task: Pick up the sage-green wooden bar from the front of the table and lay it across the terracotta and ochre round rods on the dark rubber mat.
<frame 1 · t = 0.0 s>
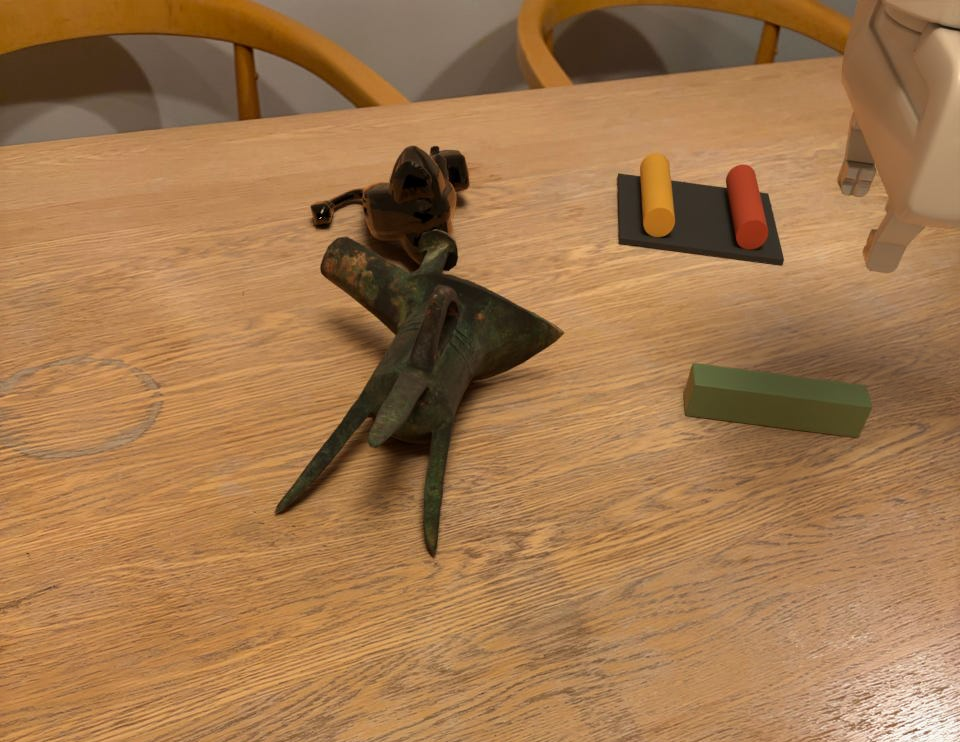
hand: (862, 226, 62), 20 cm above the table, tool pointing down, fingers open, 8 cm apart
rod stand: (696, 220, 103), on the table
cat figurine: (388, 225, 97), on the table
bar: (770, 415, 82), on the table
vessel: (398, 432, 76), on the table
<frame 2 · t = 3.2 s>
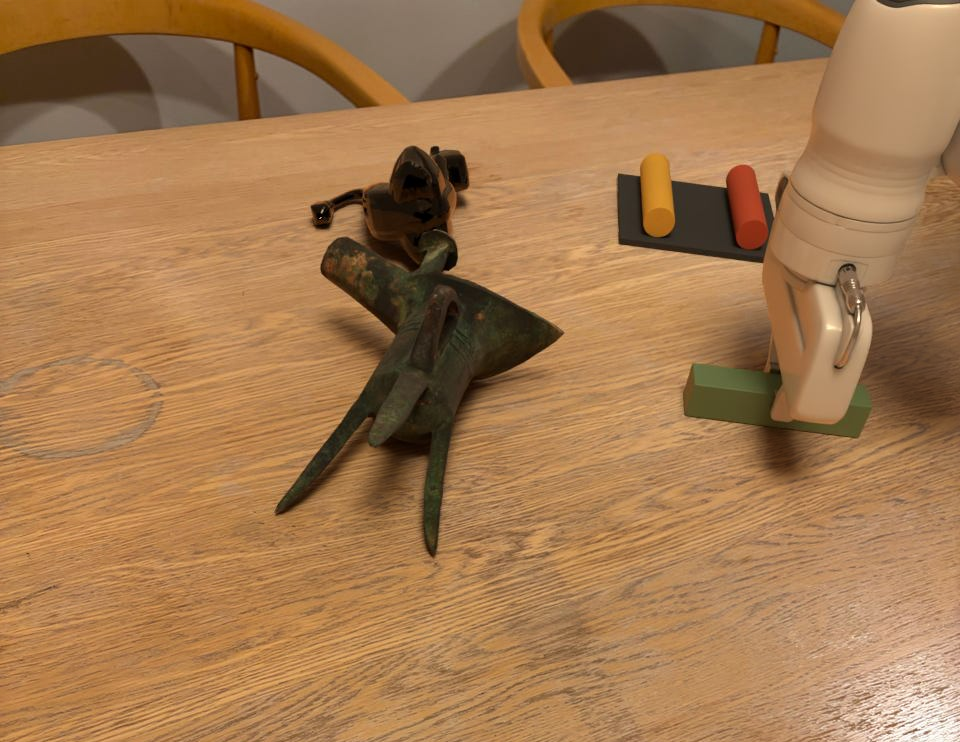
hand: (776, 399, 81), 2 cm above the table, tool pointing down, fingers closed on bar, 3 cm apart
bar: (770, 415, 82), on the table, touching gripper
everything else where it was.
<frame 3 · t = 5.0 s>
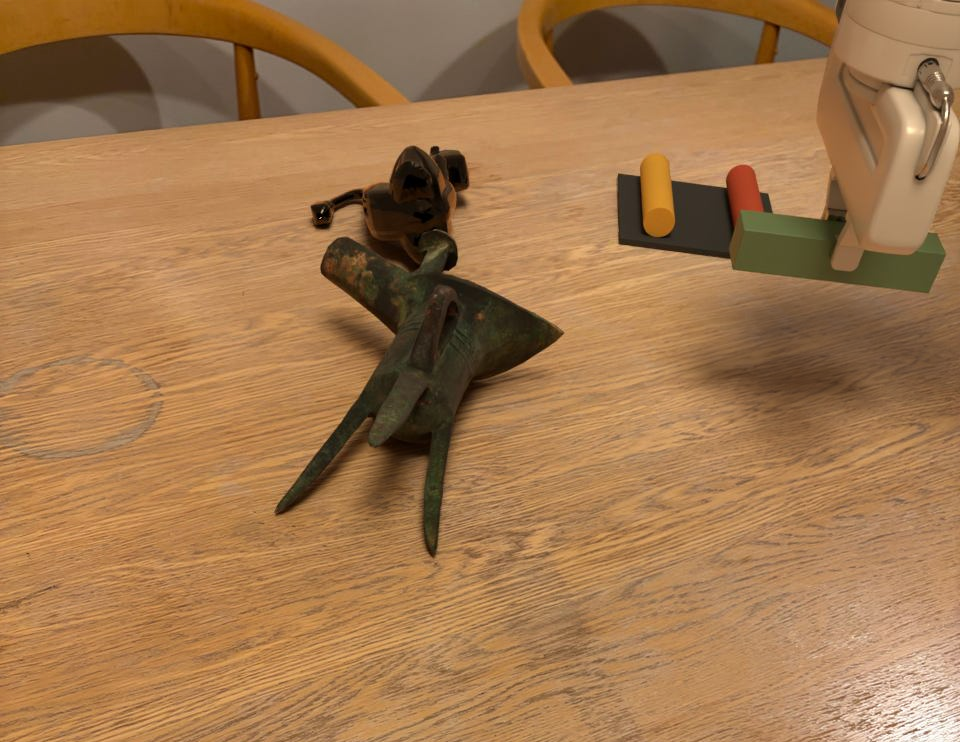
hand: (835, 249, 72), 14 cm above the table, tool pointing down, fingers closed on bar, 3 cm apart
bar: (827, 271, 73), point 13 cm above the table, touching gripper
everything else where it was.
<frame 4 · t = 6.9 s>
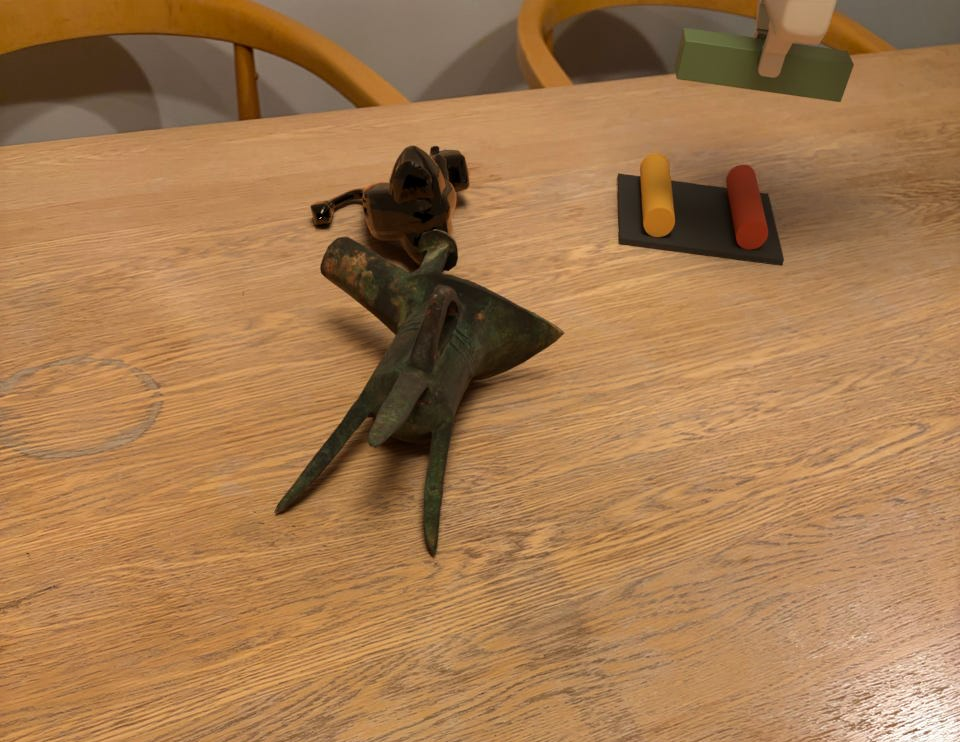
hand: (763, 63, 85), 17 cm above the table, tool pointing down, fingers closed on bar, 3 cm apart
bar: (756, 84, 86), point 16 cm above the table, touching gripper
everything else where it was.
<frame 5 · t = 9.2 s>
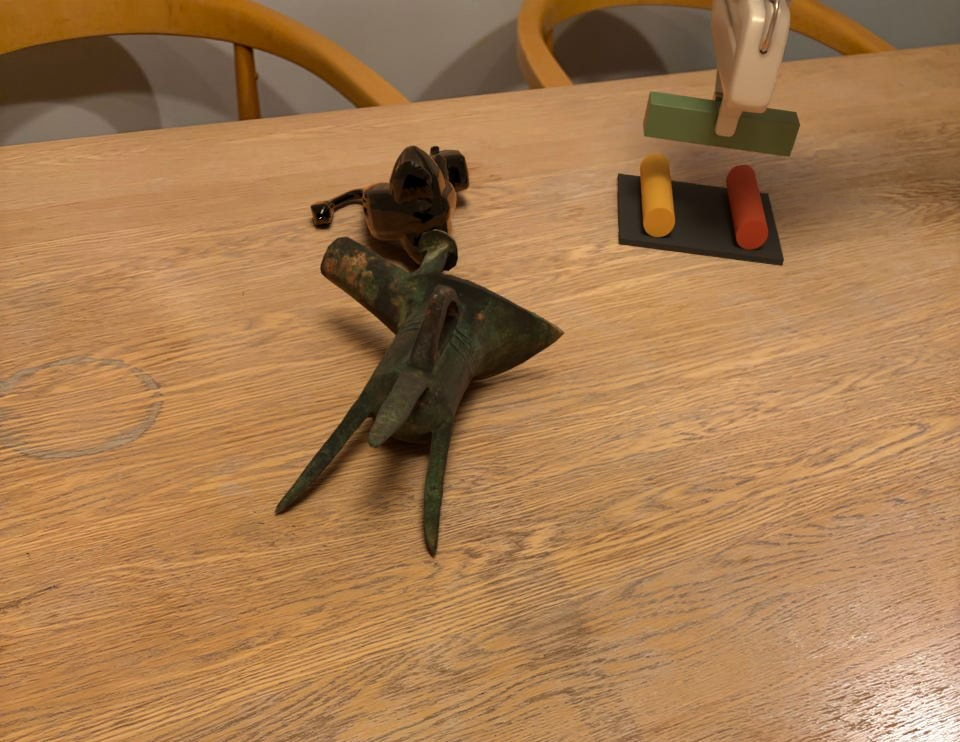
hand: (721, 123, 96), 9 cm above the table, tool pointing down, fingers closed on bar, 3 cm apart
bar: (715, 140, 97), point 8 cm above the table, touching gripper
everything else where it was.
when the fingers open (5 cm above the table, at t = 10.5 s): bar stays where it is, resting on rod stand.
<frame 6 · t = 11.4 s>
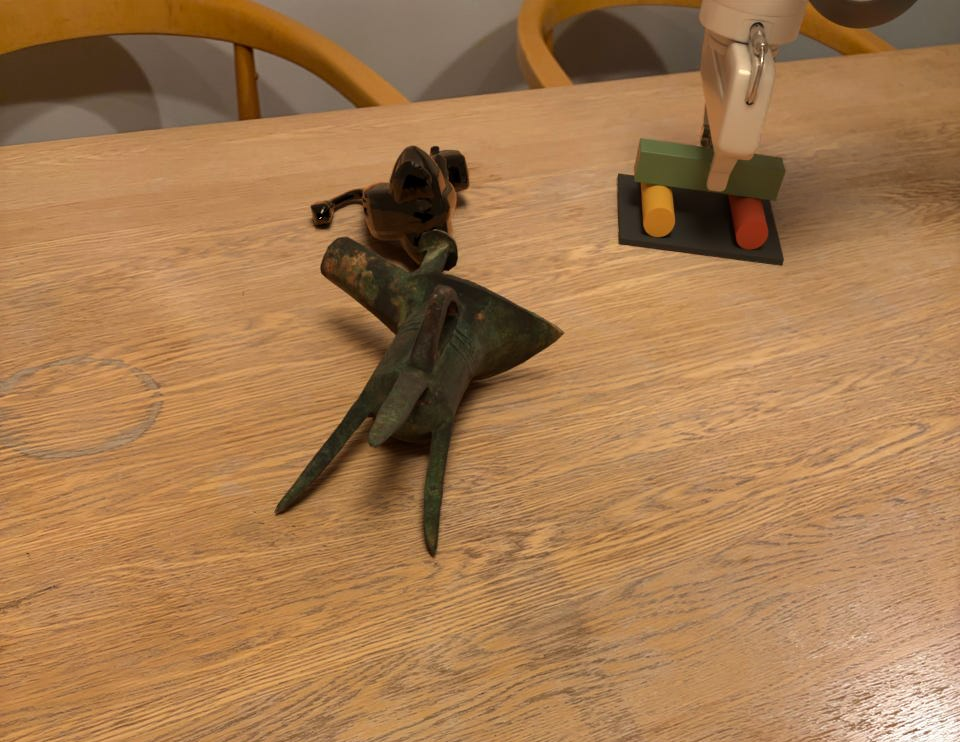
hand: (710, 165, 99), 6 cm above the table, tool pointing down, fingers open, 8 cm apart
bar: (704, 184, 100), point 4 cm above the table, touching rod stand
everything else where it was.
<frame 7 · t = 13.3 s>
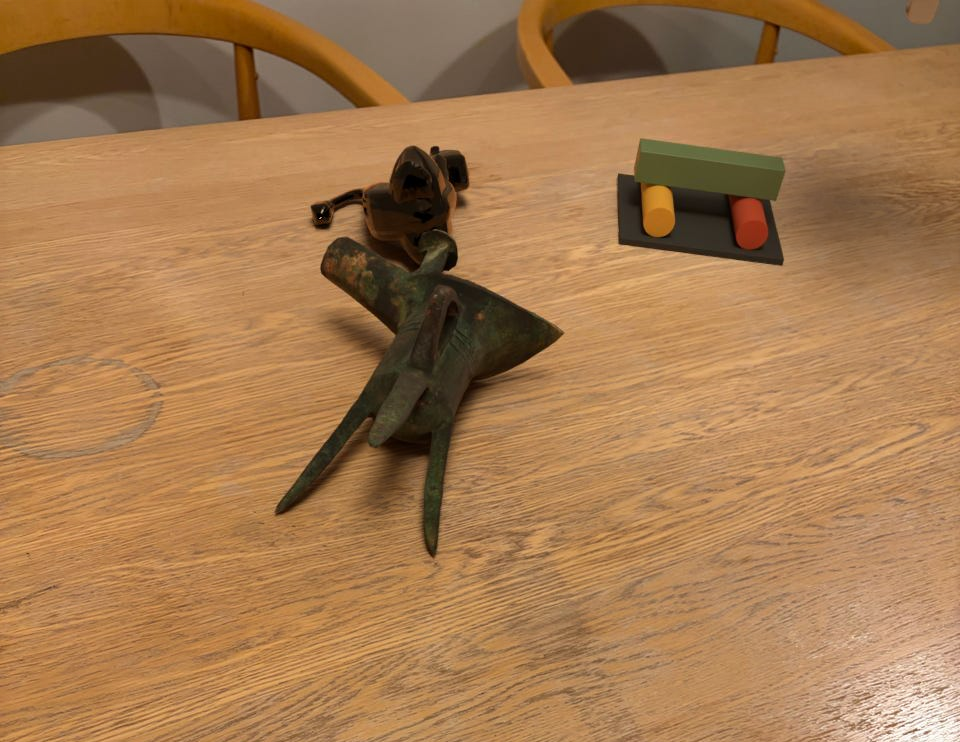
nothing on the table moved.
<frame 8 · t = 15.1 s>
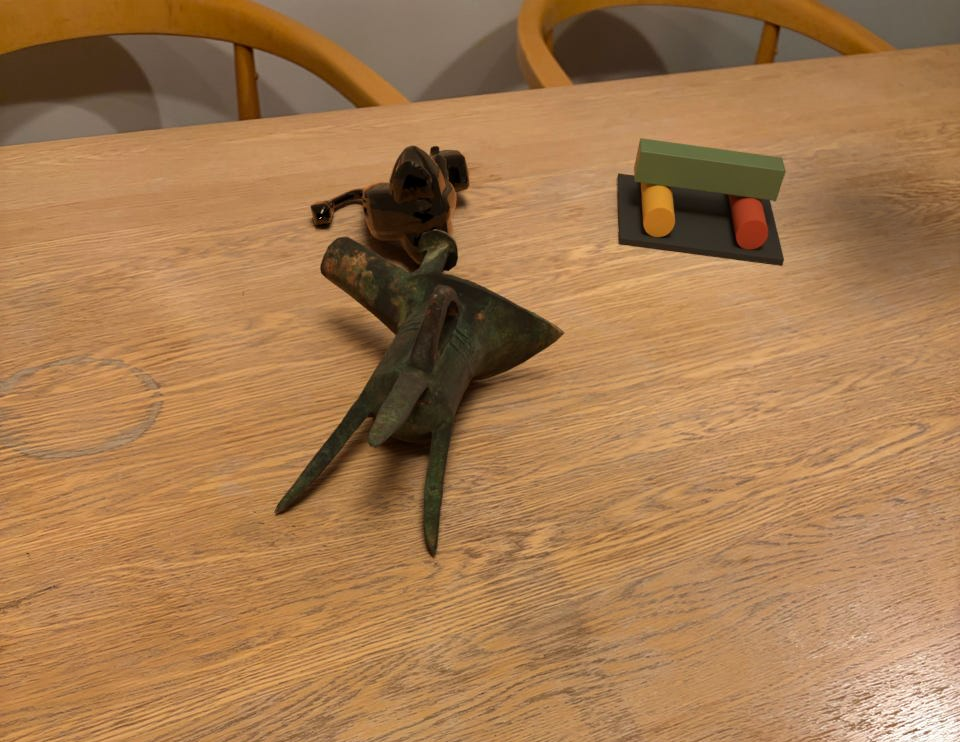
nothing on the table moved.
at the end: bar 0.1 cm off-centre on the rod stand, point 3.6 cm above the rod stand's base; bar tilted 0°; bar touching rod stand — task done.
